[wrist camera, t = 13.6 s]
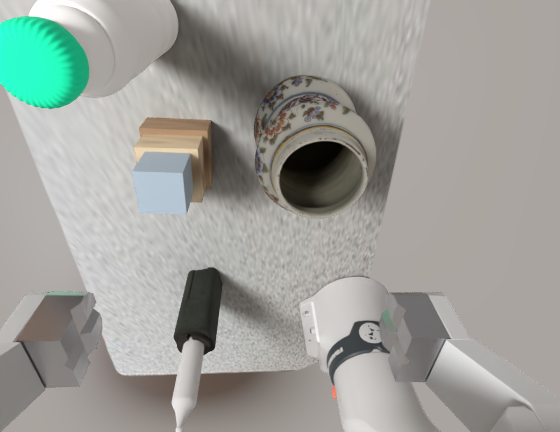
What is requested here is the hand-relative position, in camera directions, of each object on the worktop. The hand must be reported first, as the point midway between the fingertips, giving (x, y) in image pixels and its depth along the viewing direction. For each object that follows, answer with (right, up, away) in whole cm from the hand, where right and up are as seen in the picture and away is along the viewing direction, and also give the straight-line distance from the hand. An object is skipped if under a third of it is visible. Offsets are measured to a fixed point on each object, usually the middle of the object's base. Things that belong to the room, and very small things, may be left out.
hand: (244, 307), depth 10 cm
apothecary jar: (+4, +16, +37) cm, 40 cm away
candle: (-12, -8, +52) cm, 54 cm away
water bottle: (-14, +24, +30) cm, 41 cm away
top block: (-12, +9, +36) cm, 39 cm away
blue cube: (-12, +8, +32) cm, 35 cm away
